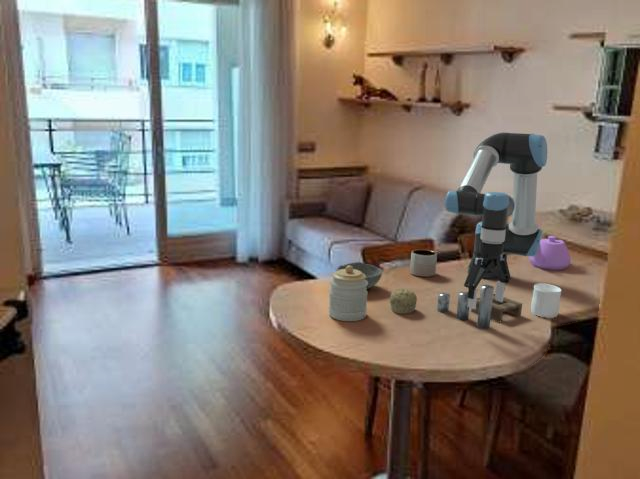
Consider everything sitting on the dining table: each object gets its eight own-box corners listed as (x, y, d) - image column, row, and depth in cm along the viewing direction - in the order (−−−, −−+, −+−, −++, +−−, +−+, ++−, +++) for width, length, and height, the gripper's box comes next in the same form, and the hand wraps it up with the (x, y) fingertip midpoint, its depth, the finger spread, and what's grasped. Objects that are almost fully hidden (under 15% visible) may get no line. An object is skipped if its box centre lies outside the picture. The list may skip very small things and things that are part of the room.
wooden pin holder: (493, 305, 216) (494, 293, 215) (520, 315, 207) (522, 303, 206) (471, 311, 209) (472, 299, 208) (498, 322, 200) (500, 309, 199)
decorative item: (392, 315, 214) (379, 296, 209) (411, 297, 216) (399, 278, 211) (406, 325, 206) (392, 305, 201) (426, 306, 207) (413, 286, 203)
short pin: (442, 307, 212) (443, 291, 211) (450, 311, 209) (452, 295, 208) (434, 309, 210) (436, 293, 209) (443, 313, 207) (444, 297, 205)
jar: (356, 325, 194) (358, 273, 190) (321, 317, 200) (323, 266, 196) (372, 313, 205) (375, 264, 201) (339, 305, 211) (341, 258, 207)
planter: (435, 278, 247) (437, 256, 244) (409, 276, 249) (410, 254, 246) (435, 271, 257) (437, 250, 255) (410, 269, 259) (411, 248, 257)
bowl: (348, 297, 220) (349, 277, 218) (328, 283, 236) (329, 264, 234) (390, 292, 227) (391, 272, 225) (368, 279, 243) (369, 260, 241)
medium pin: (461, 315, 205) (464, 290, 203) (470, 319, 202) (473, 294, 200) (453, 317, 203) (456, 292, 201) (462, 321, 200) (465, 296, 198)
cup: (543, 320, 203) (547, 293, 201) (523, 310, 212) (526, 284, 210) (564, 316, 207) (568, 290, 205) (543, 307, 216) (546, 282, 214)
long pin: (482, 323, 198) (486, 284, 195) (492, 327, 195) (496, 287, 192) (474, 326, 196) (478, 286, 193) (484, 330, 193) (488, 289, 189)
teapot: (545, 257, 285) (548, 230, 282) (579, 266, 272) (583, 237, 269) (514, 265, 270) (517, 236, 267) (549, 275, 257) (553, 244, 254)
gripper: (507, 234, 199) (500, 295, 203) (456, 242, 184) (450, 307, 189) (526, 239, 193) (518, 301, 197) (475, 248, 178) (468, 314, 183)
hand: (485, 304), depth 193 cm, fingers open, 13 cm apart
